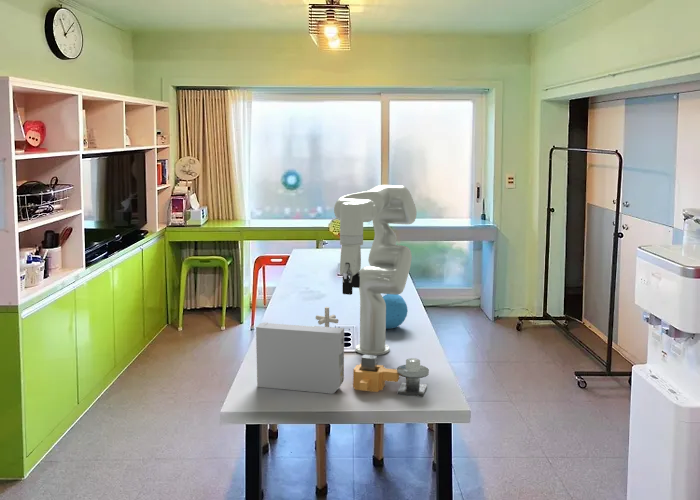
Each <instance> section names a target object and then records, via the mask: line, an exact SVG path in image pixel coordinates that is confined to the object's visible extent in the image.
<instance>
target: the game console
mask: <svg viewBox="0 0 700 500" xmlns="http://www.w3.org/2000/svg"><path fill="white" fill-rule="evenodd" d="M255 337H256V338H255V340H256V342H255V343H256V344H255V345H256V346H255V347H256V383H257V385H256V387H257V388H267V389H276V390H277V389H279V390H289V391H298V392H299V391H300V392H310V393H323V394H332V395H333V394H335V393H336V392H337V390H339V388H341V386H342V384H343V382H344V381H345V328H344V327H332V326H331V327H330V326H329V327H325V326H321V325H320V326H319V325H314V326H312V325H311V326H310V325H296V324H284V323H282V324H281V323H269V322H261V323H259V324H258V325H257V326H255Z"/></svg>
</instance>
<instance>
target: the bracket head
mask: <svg viewBox="0 0 700 500" xmlns="http://www.w3.org/2000/svg"><path fill="white" fill-rule="evenodd" d="M384 366H385V365H383V364H377V372H373V371H363V370H361V363H360V364H356V365H355V367H354V368H353V369H352V370H353V373H352V374H353V377H352V388H353V389H354V390H355V391H363V392H372V393H373V392H374V393H379V391H383V390H384V388H385V386H386V382H392V383H393V382H394V383H398V382H399V381H400V376H399V375H398V374H397V368H396V369H395V368H386V367H384Z"/></svg>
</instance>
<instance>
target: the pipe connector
mask: <svg viewBox="0 0 700 500" xmlns="http://www.w3.org/2000/svg"><path fill="white" fill-rule="evenodd" d="M315 320H316V321H317V324H318V326H319V325H320V326H321V325H323V324H324V327H330V323H332V324H338V323H339V319H338V318H336V315H335V314H331V315H330V307H329V306H325V307H324V315H318V314H317V315H315Z"/></svg>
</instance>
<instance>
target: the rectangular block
mask: <svg viewBox="0 0 700 500" xmlns="http://www.w3.org/2000/svg"><path fill="white" fill-rule="evenodd" d="M360 361H361V362H360V364H361V370H363V371H373V372H377V365H378V355H364V354H362V356H361V359H360Z"/></svg>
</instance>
